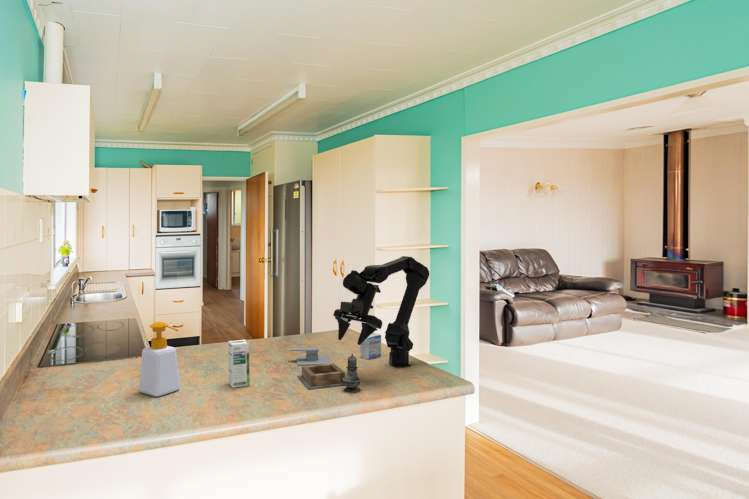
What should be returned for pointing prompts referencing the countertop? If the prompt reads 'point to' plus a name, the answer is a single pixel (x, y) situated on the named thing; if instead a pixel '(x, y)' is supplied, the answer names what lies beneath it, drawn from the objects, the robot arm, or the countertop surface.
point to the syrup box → (238, 363)
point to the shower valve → (311, 357)
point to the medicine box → (371, 347)
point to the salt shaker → (352, 376)
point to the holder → (322, 376)
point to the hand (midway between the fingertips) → (348, 342)
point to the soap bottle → (159, 365)
